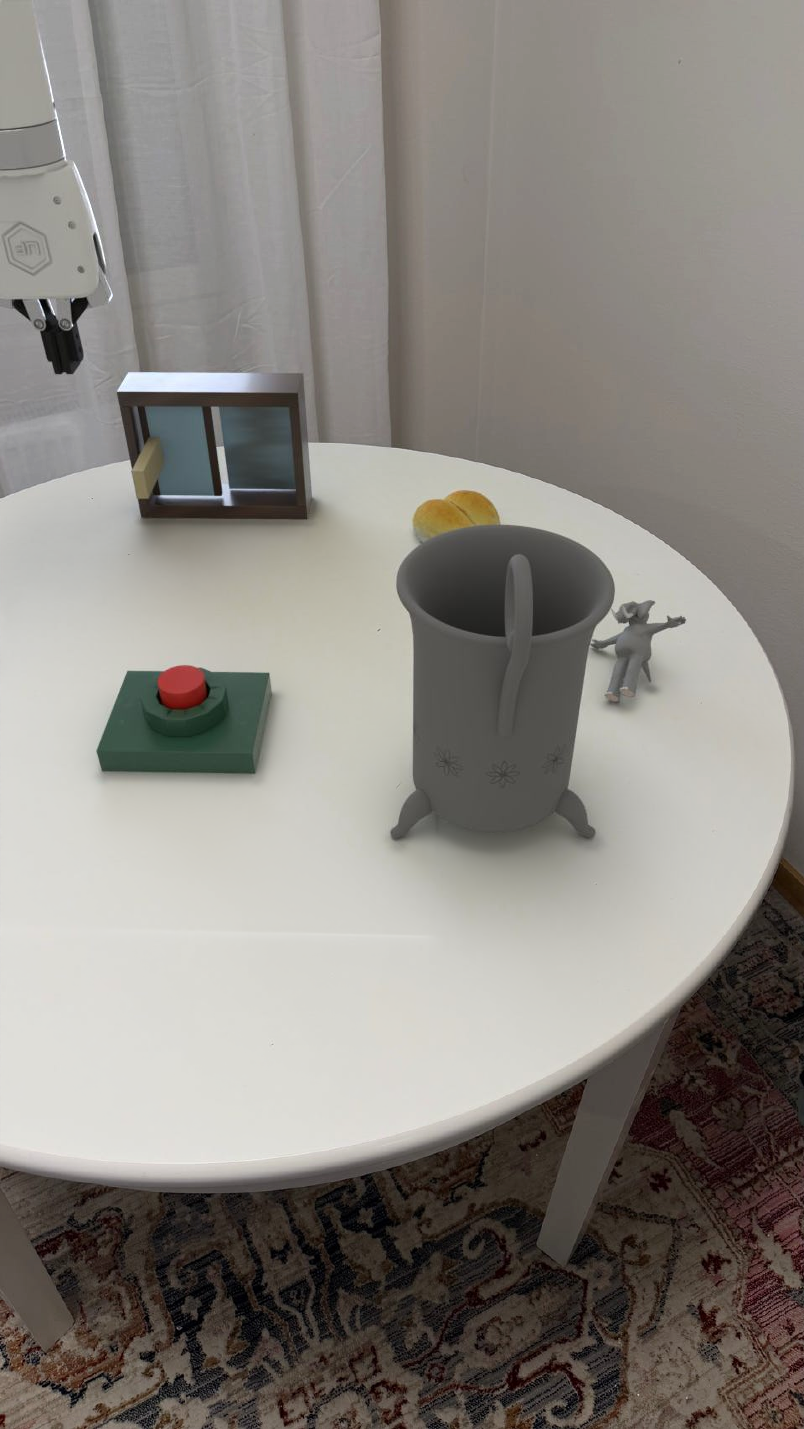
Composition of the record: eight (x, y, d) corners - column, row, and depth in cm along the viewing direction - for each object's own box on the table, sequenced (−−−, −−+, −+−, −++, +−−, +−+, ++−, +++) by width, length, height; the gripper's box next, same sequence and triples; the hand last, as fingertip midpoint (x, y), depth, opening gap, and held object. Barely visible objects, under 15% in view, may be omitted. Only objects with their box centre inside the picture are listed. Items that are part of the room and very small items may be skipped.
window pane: (137, 531, 103) (117, 435, 96) (154, 492, 109) (137, 400, 102) (209, 532, 102) (195, 436, 96) (222, 493, 109) (210, 400, 102)
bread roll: (399, 528, 106) (398, 494, 104) (470, 506, 110) (471, 473, 107) (440, 563, 101) (441, 528, 98) (513, 540, 104) (516, 505, 102)
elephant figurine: (552, 690, 86) (577, 606, 90) (596, 726, 88) (619, 643, 92) (646, 665, 78) (669, 574, 82) (691, 705, 81) (711, 615, 85)
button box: (101, 771, 78) (91, 733, 76) (132, 690, 86) (123, 653, 83) (255, 774, 78) (249, 735, 75) (272, 692, 85) (267, 655, 83)
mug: (391, 724, 82) (385, 436, 66) (572, 723, 82) (610, 435, 66) (389, 906, 68) (381, 596, 52) (608, 904, 68) (669, 594, 52)
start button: (156, 710, 78) (152, 693, 77) (166, 681, 81) (162, 664, 80) (202, 711, 78) (199, 693, 77) (210, 682, 81) (207, 665, 80)
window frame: (141, 517, 108) (116, 391, 99) (151, 495, 112) (128, 372, 103) (307, 519, 108) (297, 392, 99) (312, 496, 112) (303, 373, 103)
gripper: (-94, 159, 79) (-25, 385, 91) (94, 156, 79) (138, 384, 91) (-58, 138, 85) (2, 354, 97) (117, 135, 84) (156, 353, 96)
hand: (68, 368), depth 94 cm, fingers closed
